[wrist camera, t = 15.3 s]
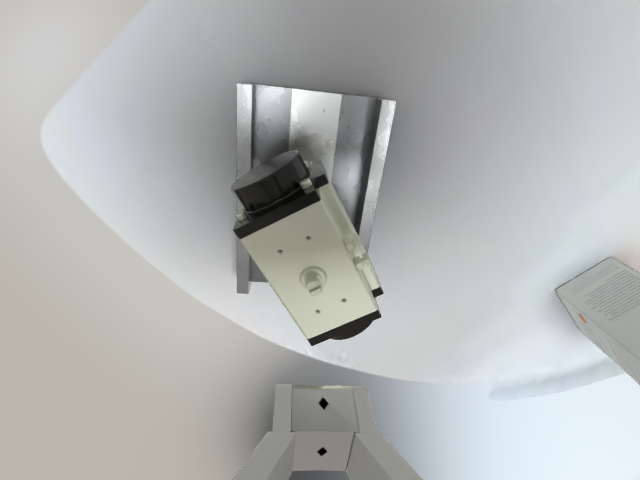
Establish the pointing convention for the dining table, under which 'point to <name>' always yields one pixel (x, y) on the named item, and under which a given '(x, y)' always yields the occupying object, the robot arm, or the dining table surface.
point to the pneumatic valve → (307, 247)
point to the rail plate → (315, 147)
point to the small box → (608, 311)
